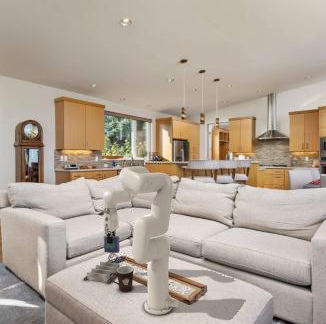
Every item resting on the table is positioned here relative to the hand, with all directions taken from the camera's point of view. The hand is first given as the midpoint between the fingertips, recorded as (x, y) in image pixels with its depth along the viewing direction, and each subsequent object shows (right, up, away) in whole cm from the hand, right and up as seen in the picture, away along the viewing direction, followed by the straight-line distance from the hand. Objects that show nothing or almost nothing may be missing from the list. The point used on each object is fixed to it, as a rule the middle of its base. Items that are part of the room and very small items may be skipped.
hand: (111, 242), depth 146 cm
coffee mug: (+9, -19, -16) cm, 26 cm away
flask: (0, -6, 0) cm, 6 cm away
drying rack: (-4, -19, 0) cm, 19 cm away
